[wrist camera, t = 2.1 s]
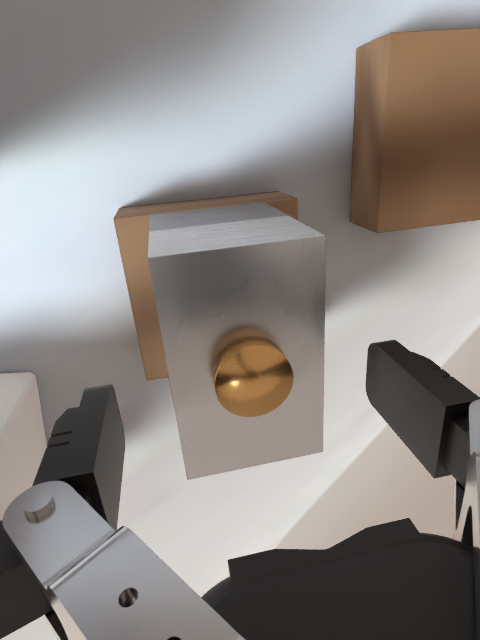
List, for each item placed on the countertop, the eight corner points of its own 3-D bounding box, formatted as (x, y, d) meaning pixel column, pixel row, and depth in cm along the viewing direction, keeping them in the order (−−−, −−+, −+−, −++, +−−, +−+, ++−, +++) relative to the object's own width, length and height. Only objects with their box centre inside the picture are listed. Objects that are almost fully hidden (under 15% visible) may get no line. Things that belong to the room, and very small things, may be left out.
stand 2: (356, 48, 19) (390, 32, 16) (508, 40, 20) (564, 23, 17) (350, 221, 22) (377, 232, 19) (480, 205, 23) (523, 214, 20)
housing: (149, 215, 17) (147, 266, 10) (264, 202, 18) (337, 241, 11) (176, 375, 20) (189, 497, 13) (272, 359, 21) (331, 467, 14)
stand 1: (118, 208, 19) (113, 219, 17) (278, 191, 21) (297, 198, 18) (147, 352, 23) (146, 380, 20) (283, 330, 24) (299, 354, 21)
